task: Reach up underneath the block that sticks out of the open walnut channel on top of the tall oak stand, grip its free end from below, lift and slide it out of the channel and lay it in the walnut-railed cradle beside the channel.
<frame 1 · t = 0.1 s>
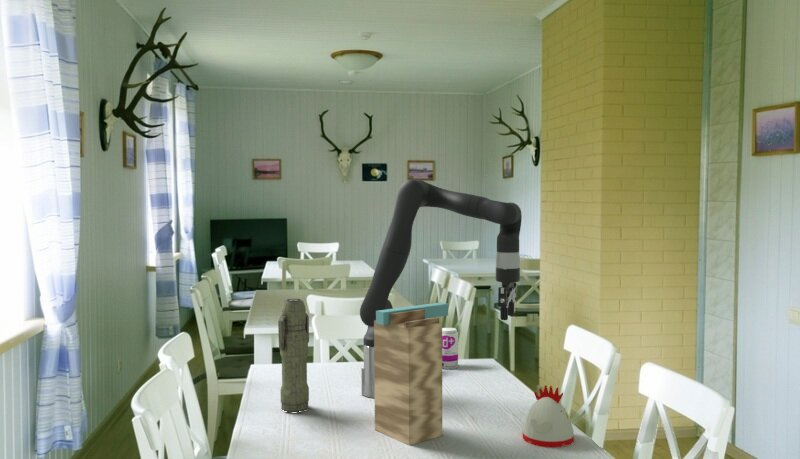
hand: (507, 317, 226), 29 cm above the table, tool pointing down, fingers open, 8 cm apart
stone statue: (295, 409, 229), on the table
kitchen timer: (547, 439, 200), on the table
supplement can: (447, 367, 282), on the table
stand: (408, 432, 206), on the table
block: (413, 319, 208), point 32 cm above the table, touching stand
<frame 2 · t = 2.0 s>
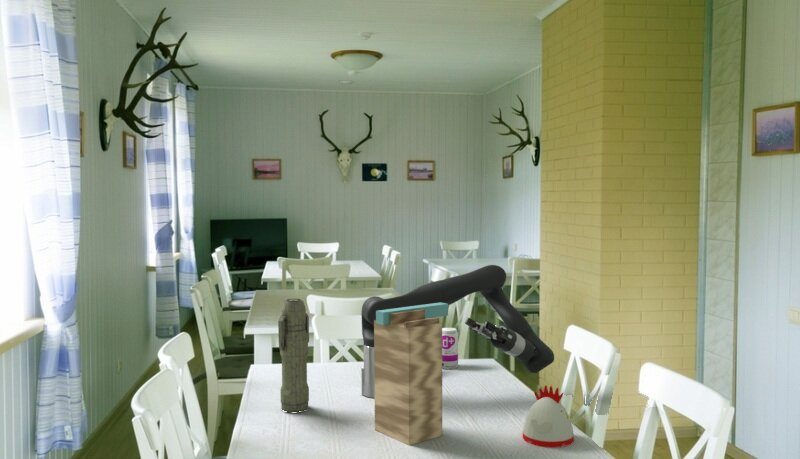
hand: (475, 322, 224), 28 cm above the table, tool pointing upward, fingers open, 8 cm apart
nothing on the table moved.
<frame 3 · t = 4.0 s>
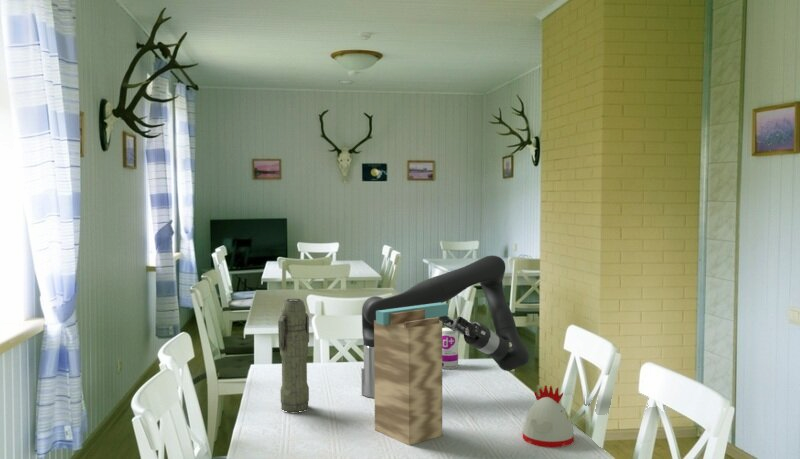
hand: (448, 317, 217), 31 cm above the table, tool pointing upward, fingers open, 8 cm apart
nothing on the table moved.
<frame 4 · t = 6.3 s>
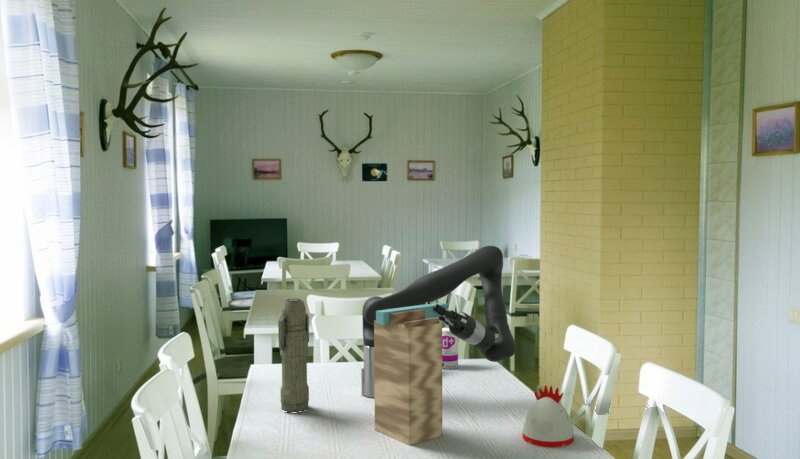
hand: (430, 306, 212), 35 cm above the table, tool pointing upward, fingers closed on block, 3 cm apart
block: (413, 319, 208), point 32 cm above the table, touching gripper, stand
everything else where it was.
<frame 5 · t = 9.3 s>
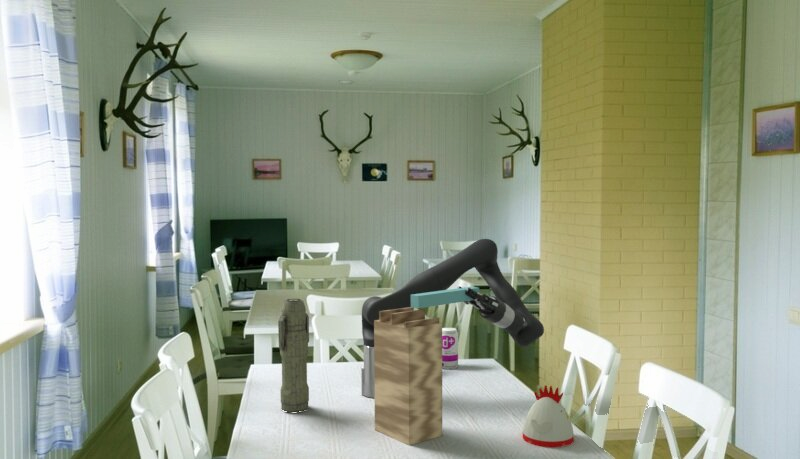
hand: (462, 290, 216), 39 cm above the table, tool pointing upward, fingers closed on block, 3 cm apart
block: (446, 302, 212), point 36 cm above the table, touching gripper
everything else where it was.
when the fingers open (36 cm above the table, at t = 12.6 s): block drops 1 cm, resting on stand.
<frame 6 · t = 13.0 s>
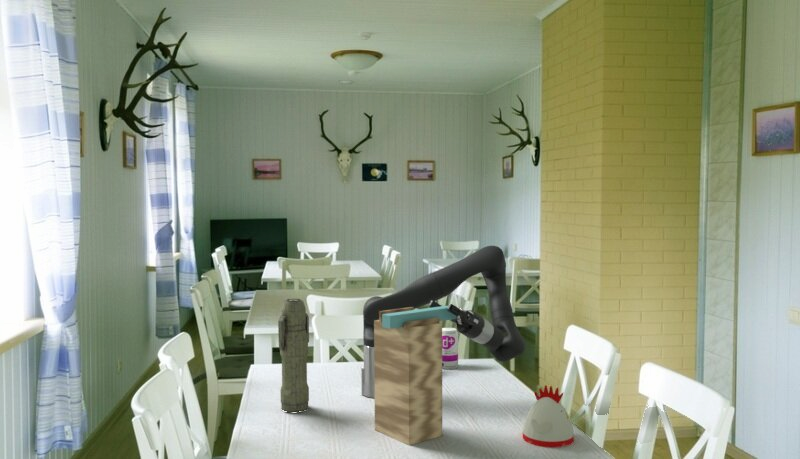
hand: (439, 305, 207), 36 cm above the table, tool pointing upward, fingers open, 7 cm apart
block: (420, 322, 203), point 32 cm above the table, touching stand
everything else where it was.
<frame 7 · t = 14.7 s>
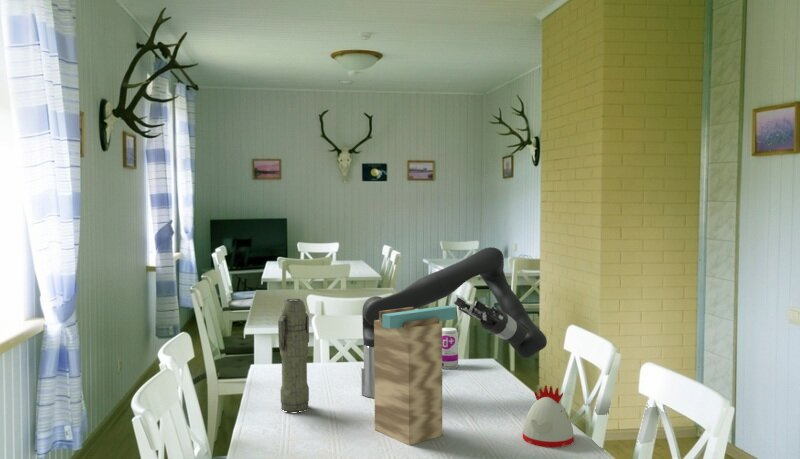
hand: (465, 301, 213), 36 cm above the table, tool pointing upward, fingers open, 8 cm apart
nothing on the table moved.
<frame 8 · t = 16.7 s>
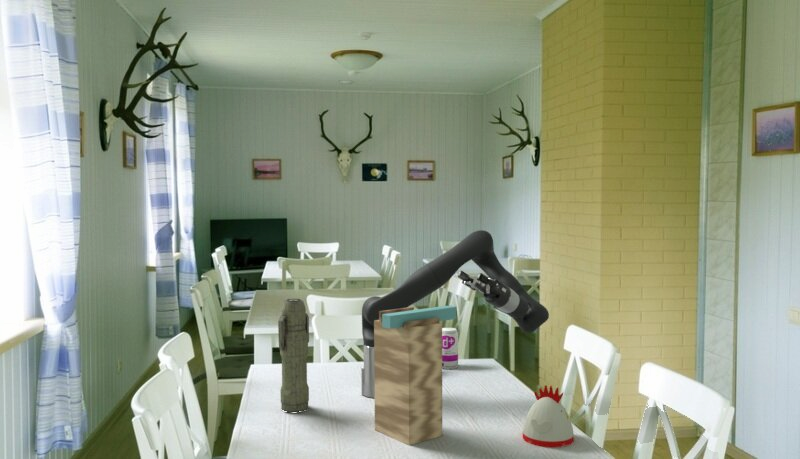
hand: (469, 274, 216), 44 cm above the table, tool pointing upward, fingers open, 8 cm apart
nothing on the table moved.
at the end: block 0.3 cm from the target spot, point 32.0 cm above the table; the gripper is holding nothing; block moved 6.0 cm from its start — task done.
